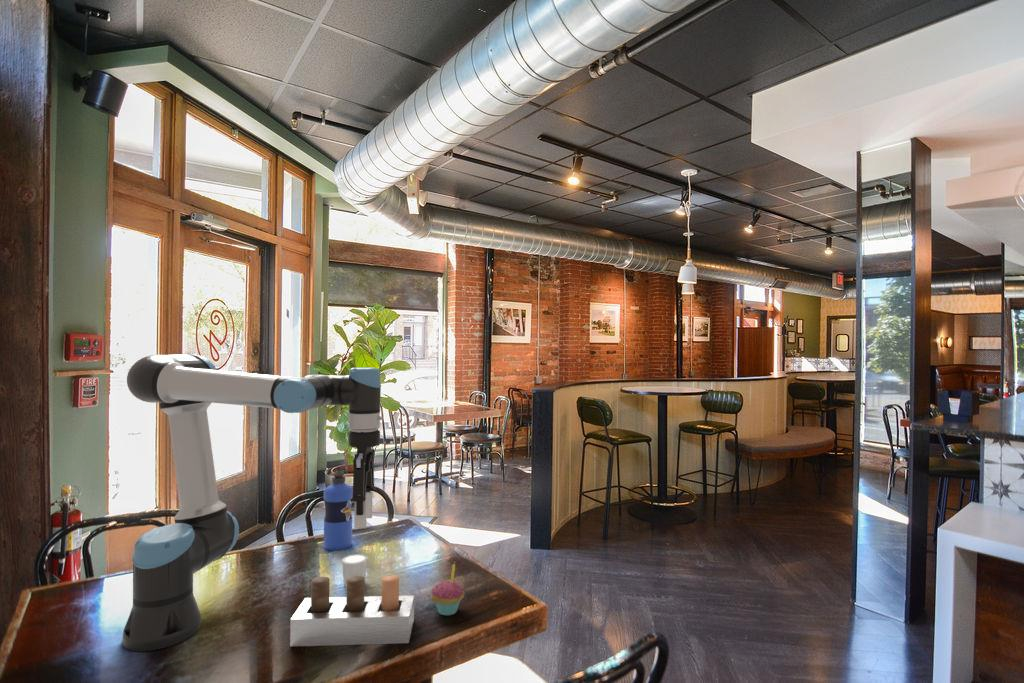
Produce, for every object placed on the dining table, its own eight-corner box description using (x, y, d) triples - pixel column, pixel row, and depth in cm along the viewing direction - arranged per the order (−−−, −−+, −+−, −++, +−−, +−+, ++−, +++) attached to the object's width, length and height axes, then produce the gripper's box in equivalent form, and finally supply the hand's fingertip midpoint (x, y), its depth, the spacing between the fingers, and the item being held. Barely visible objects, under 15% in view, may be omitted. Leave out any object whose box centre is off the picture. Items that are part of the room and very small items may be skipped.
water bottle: (317, 549, 173) (318, 473, 173) (331, 539, 182) (332, 466, 182) (344, 551, 171) (345, 474, 172) (357, 541, 180) (358, 468, 181)
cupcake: (450, 599, 139) (451, 554, 140) (471, 611, 133) (472, 563, 133) (423, 611, 133) (424, 563, 134) (444, 623, 127) (444, 573, 127)
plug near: (308, 615, 120) (308, 584, 120) (313, 606, 124) (314, 576, 124) (326, 614, 121) (326, 584, 121) (331, 606, 125) (331, 576, 125)
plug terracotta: (379, 613, 121) (380, 582, 122) (382, 605, 125) (383, 575, 126) (397, 613, 122) (397, 582, 122) (399, 604, 126) (400, 575, 126)
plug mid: (344, 614, 121) (344, 583, 121) (348, 605, 125) (348, 576, 125) (362, 613, 121) (362, 583, 121) (365, 605, 125) (366, 575, 125)
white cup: (359, 590, 144) (360, 564, 145) (336, 587, 146) (337, 562, 146) (371, 579, 151) (371, 554, 151) (349, 577, 153) (349, 552, 153)
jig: (290, 646, 117) (290, 619, 117) (304, 623, 127) (305, 597, 127) (408, 643, 119) (408, 616, 119) (413, 620, 129) (414, 595, 129)
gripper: (372, 436, 122) (371, 536, 122) (386, 423, 141) (385, 510, 141) (339, 436, 122) (337, 536, 121) (357, 423, 141) (356, 510, 141)
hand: (363, 522), depth 131 cm, fingers open, 6 cm apart
